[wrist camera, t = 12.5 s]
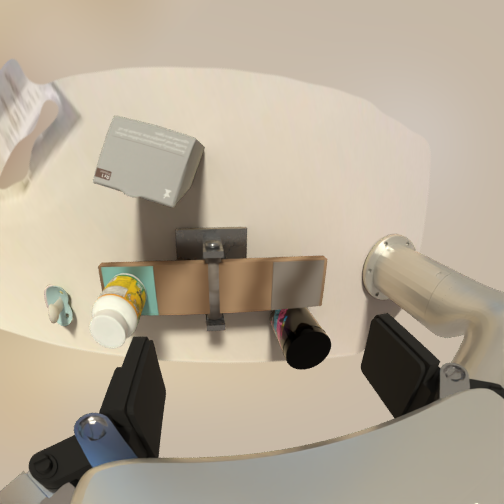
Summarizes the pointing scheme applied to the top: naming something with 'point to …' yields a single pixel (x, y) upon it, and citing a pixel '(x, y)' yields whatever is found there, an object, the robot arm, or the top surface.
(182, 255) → the beam stand
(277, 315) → the supplement container
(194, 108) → the top surface
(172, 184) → the skincare box
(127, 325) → the supplement bottle
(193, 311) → the beam
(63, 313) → the pacifier
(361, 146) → the top surface
